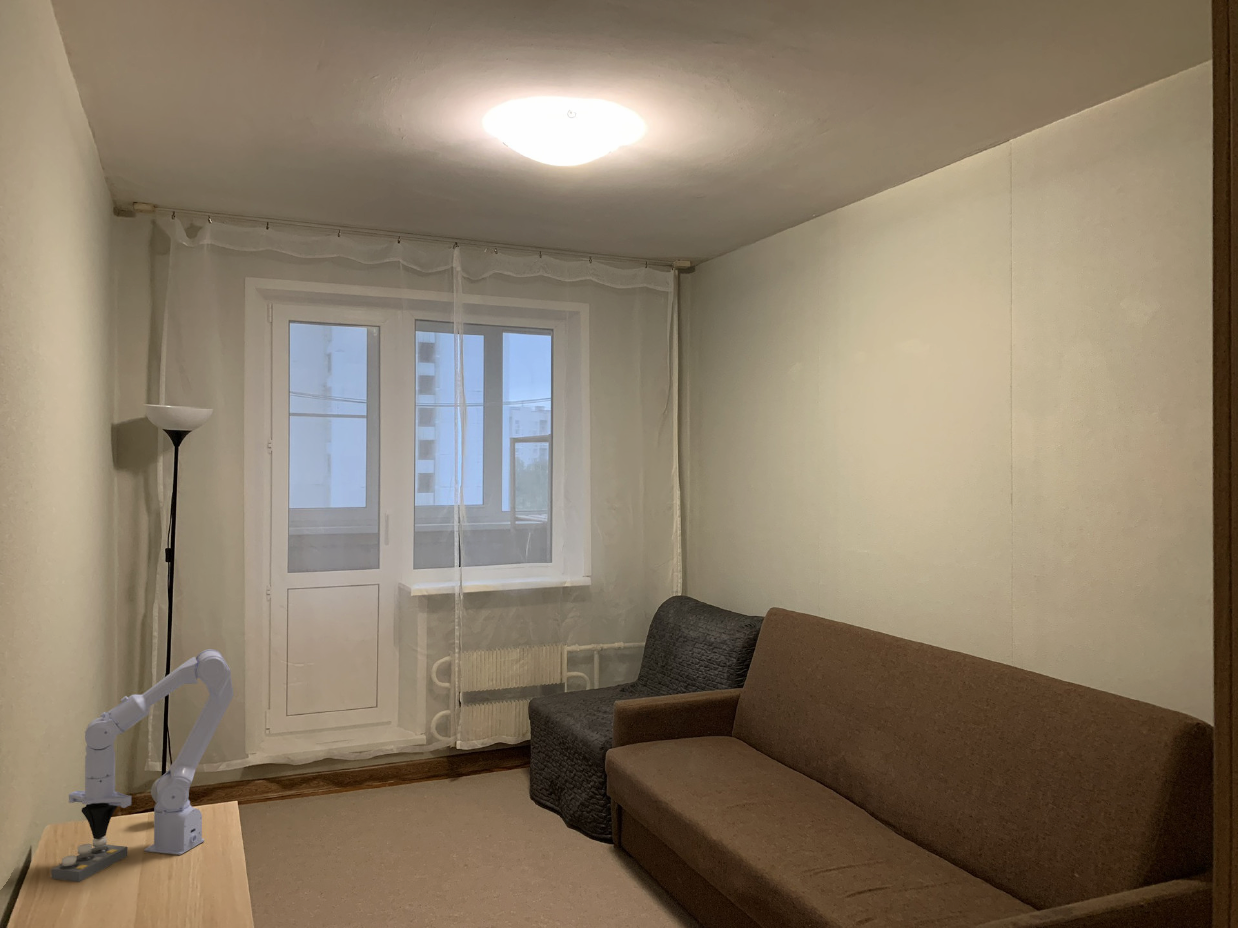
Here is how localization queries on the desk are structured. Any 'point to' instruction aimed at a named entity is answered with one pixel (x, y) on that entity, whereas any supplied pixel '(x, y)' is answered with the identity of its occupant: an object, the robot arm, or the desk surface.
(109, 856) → the switch panel
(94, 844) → the button right
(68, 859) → the button left
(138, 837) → the desk surface
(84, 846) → the button middle
